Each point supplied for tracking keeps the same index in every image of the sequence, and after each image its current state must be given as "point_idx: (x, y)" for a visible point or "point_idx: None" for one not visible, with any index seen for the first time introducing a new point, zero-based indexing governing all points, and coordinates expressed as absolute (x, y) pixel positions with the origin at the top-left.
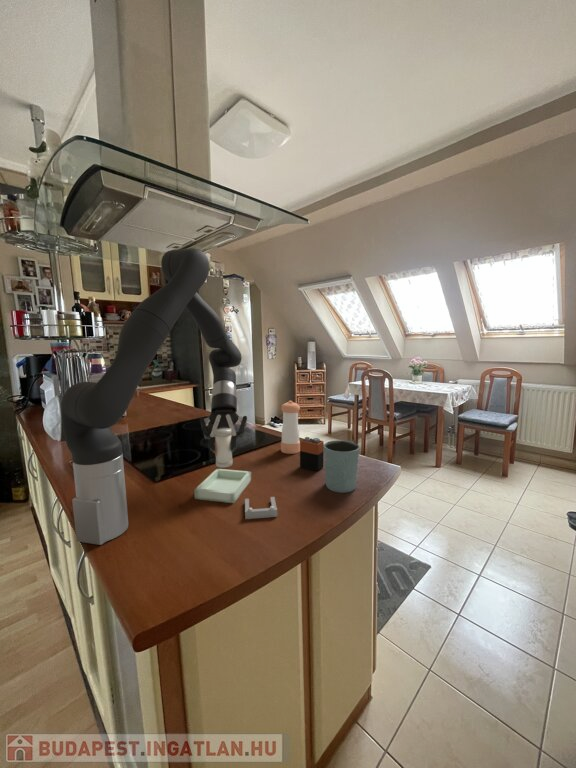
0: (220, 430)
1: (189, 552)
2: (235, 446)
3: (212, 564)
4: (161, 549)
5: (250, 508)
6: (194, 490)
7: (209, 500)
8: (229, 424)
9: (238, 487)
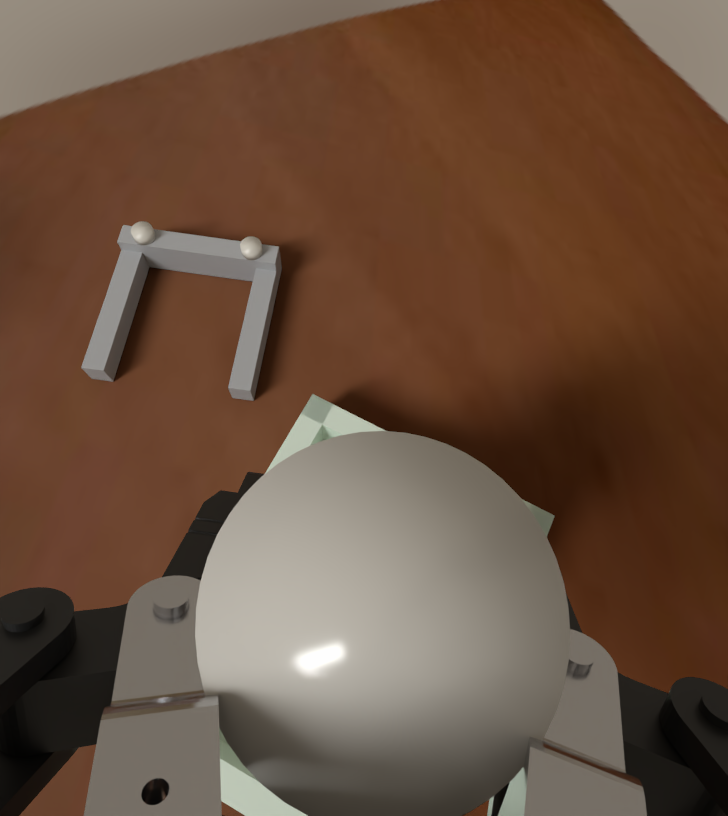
0: (440, 575)
1: (502, 149)
2: (216, 496)
3: (425, 87)
4: (601, 186)
5: (248, 246)
6: (552, 516)
7: None
8: (195, 790)
9: (269, 468)
